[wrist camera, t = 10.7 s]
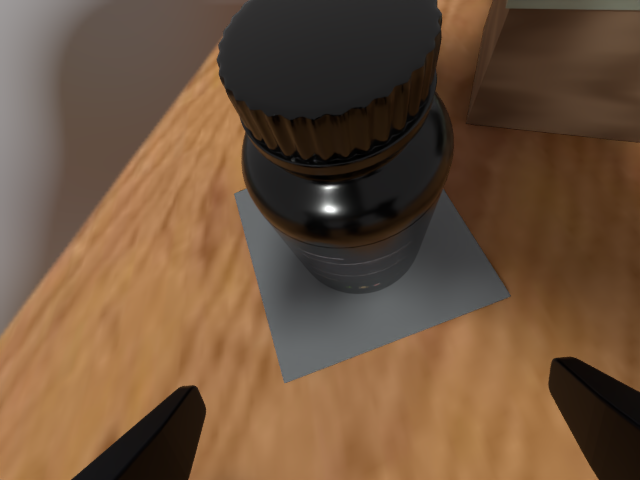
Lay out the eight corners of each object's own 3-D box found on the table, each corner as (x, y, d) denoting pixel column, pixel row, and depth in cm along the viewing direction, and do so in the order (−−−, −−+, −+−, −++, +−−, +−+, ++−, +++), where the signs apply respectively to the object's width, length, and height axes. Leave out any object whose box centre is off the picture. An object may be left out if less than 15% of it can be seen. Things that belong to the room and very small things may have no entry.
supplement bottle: (296, 196, 19) (186, -30, 8) (406, 178, 18) (453, -104, 7) (302, 305, 16) (151, 189, 5) (431, 290, 15) (571, 115, 4)
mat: (286, 382, 15) (284, 383, 15) (236, 196, 20) (234, 193, 20) (507, 297, 15) (510, 296, 15) (402, 129, 20) (403, 125, 20)
